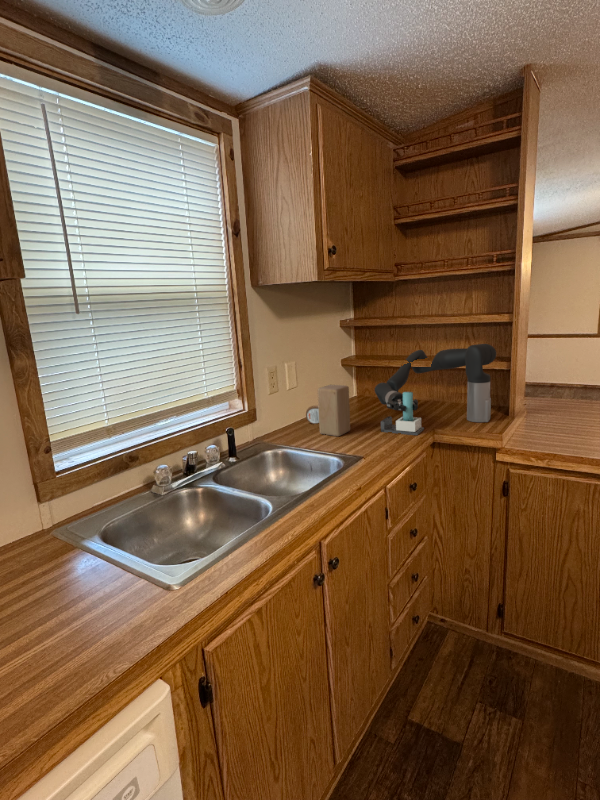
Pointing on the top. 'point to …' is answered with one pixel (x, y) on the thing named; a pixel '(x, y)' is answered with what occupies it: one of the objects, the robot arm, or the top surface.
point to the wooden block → (334, 410)
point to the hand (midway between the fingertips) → (410, 408)
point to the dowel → (408, 406)
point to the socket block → (408, 424)
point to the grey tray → (388, 427)
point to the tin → (313, 414)
